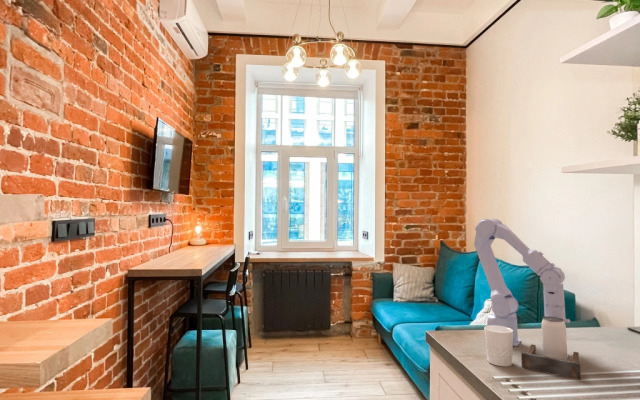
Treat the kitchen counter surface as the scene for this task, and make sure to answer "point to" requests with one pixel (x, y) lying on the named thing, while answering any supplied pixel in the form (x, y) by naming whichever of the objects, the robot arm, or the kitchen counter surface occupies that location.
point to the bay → (551, 364)
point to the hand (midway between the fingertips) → (556, 347)
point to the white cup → (499, 345)
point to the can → (554, 338)
